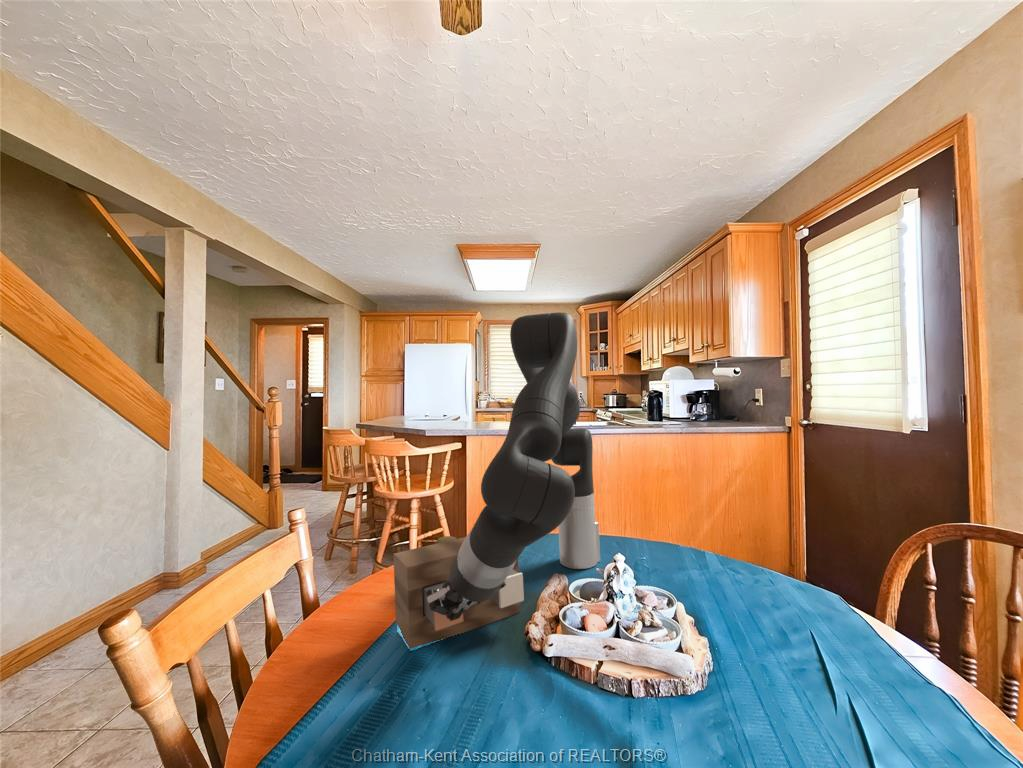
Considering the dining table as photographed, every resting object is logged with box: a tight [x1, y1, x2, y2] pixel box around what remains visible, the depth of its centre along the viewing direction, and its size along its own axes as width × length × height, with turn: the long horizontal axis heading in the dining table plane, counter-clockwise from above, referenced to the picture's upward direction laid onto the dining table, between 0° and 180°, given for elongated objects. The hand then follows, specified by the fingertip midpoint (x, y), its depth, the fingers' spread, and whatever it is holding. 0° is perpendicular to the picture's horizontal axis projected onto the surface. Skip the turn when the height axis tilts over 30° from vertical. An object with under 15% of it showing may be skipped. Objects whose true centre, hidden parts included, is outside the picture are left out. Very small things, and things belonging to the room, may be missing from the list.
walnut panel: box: [393, 536, 521, 649], centre depth 80 cm, size 22×8×14 cm, turn 122°
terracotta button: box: [422, 581, 463, 631], centre depth 73 cm, size 5×9×5 cm, turn 32°
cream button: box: [491, 569, 525, 608], centre depth 79 cm, size 5×9×5 cm, turn 32°
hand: (452, 613), depth 68 cm, fingers closed
